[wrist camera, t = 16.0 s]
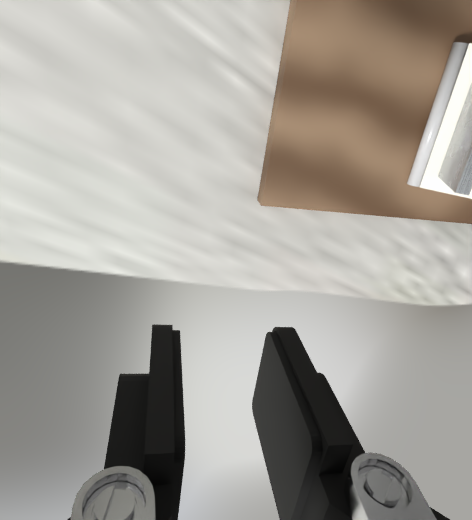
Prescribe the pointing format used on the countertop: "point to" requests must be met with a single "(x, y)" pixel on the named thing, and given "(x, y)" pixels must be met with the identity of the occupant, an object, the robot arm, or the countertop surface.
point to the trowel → (460, 153)
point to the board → (360, 106)
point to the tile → (443, 121)
